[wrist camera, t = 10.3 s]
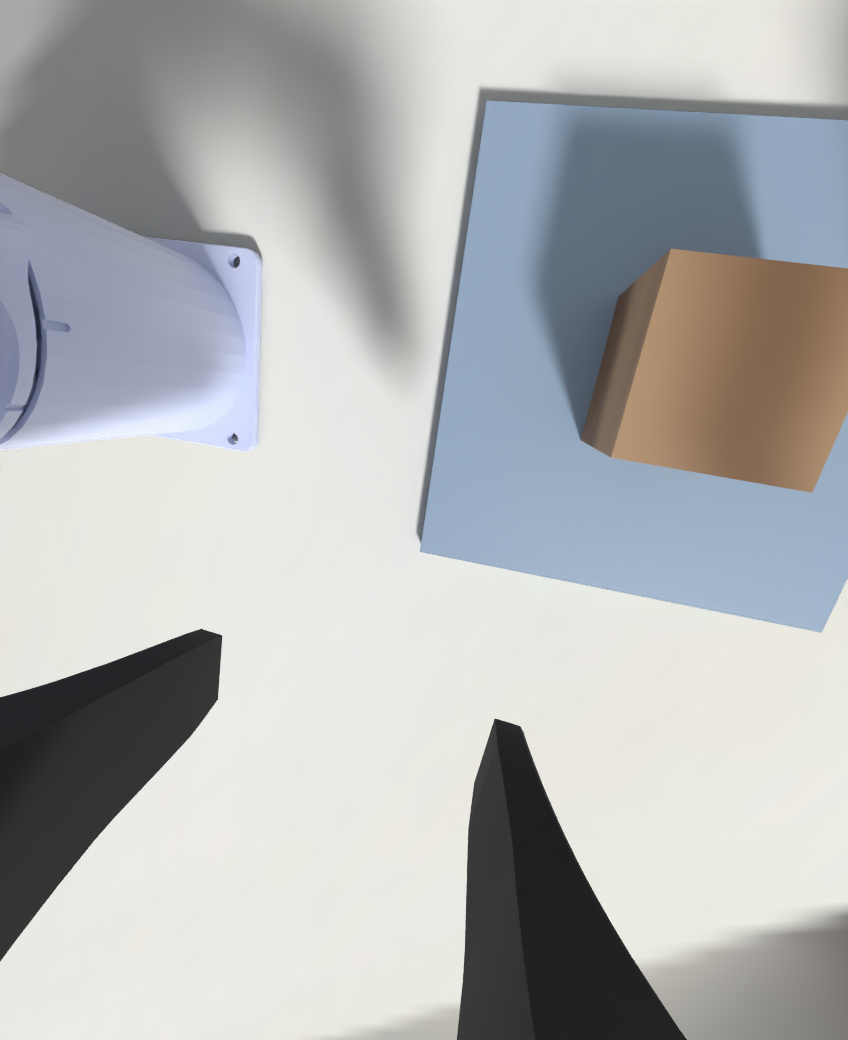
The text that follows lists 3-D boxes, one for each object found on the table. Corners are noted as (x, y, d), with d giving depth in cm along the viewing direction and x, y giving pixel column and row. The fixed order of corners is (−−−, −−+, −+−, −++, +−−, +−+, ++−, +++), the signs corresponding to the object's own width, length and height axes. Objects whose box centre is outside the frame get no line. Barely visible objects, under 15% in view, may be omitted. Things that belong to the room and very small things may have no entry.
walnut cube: (580, 440, 16) (611, 457, 12) (618, 296, 15) (670, 248, 10) (720, 464, 16) (812, 492, 11) (774, 316, 14) (908, 274, 9)
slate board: (422, 547, 19) (419, 551, 19) (487, 111, 15) (486, 100, 14) (811, 624, 17) (821, 632, 17) (1034, 143, 12) (1059, 131, 12)
